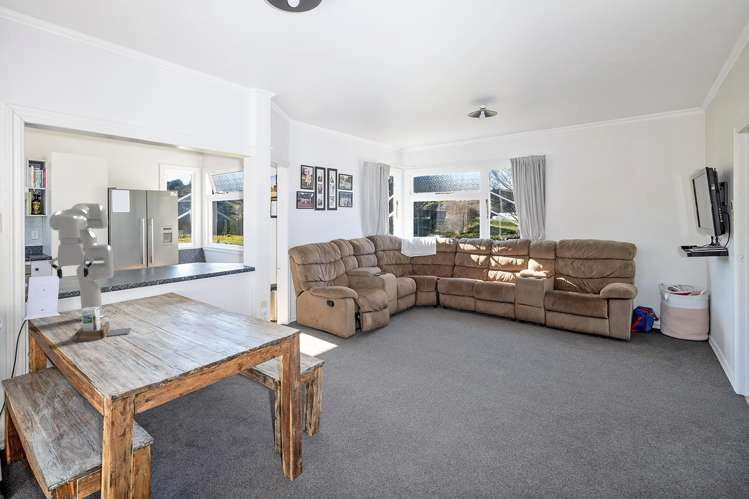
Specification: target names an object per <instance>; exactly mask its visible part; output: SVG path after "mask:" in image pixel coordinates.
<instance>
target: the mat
mask: <svg viewBox="0 0 749 499" xmlns="http://www.w3.org/2000/svg"><path fill="white" fill-rule="evenodd" d="M131 329H132V327H125V328H116V329H109V331H108V332H107V334H106V335H107V336H106V337H117V336H125V335H129V334H130V333H131Z"/></svg>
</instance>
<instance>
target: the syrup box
mask: <svg viewBox="0 0 749 499" xmlns="http://www.w3.org/2000/svg"><path fill="white" fill-rule="evenodd" d="M80 311H81V316H82V320H81V323H82V325H83V332H86V331H95V330H100V329H101V326H100V322H101V318H100V311H99V307H87V308H84V309H81V310H80Z"/></svg>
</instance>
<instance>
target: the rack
mask: <svg viewBox="0 0 749 499" xmlns="http://www.w3.org/2000/svg"><path fill="white" fill-rule="evenodd" d="M102 326H103V327H102V328H101V329H100V330H95V331H86V332H83V324H82V325H81V326H80V328H79V329H78V330H77V331H76V332H75V342H76V343H77V342H83V341H84V342H85V341H92V340H93V341H94V340H100V339H102V340H103V339H105V338H106V337H107V336H106V335H108V333H109V331H110V322H109V321H106V322H104V323H103V324H102Z"/></svg>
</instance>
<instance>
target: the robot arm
mask: <svg viewBox="0 0 749 499" xmlns="http://www.w3.org/2000/svg"><path fill="white" fill-rule="evenodd" d="M48 222H49V226H50V229H52V230H53V231H59V242H60V244H59V245H58V248H57V256H56V257H55V258H53V259H51V260H48V264H50V266H51V267H52V268H53V269H54V270H56V276H57V277H58V279H62V278H63V270H62V268H63V267H67V266H77V267H76V271H75V272H76V276H77V279H78V280H77V281H78V284H79V294H80V297H79V298H80V309H81V310H82V309H84V308H87V307H99V311H100V319H102V318H104V317H106V313H104V312H103V308H102V307H103V306H102V293H101V286H100V284H99V283H98V282H97V281H98V280H108V279H112V278H113V277H114V274H115V266H114V264H115V262H114V251H113V250H114V249H113V247H112V246H111V245H109V244H106V243H105V244H104V243H103V244H102V243H101V244H99V243H98V241H97V240H98V238H97V234H95V232H93V231H92V230H93V229H94V230H96V229H98V230H99V229H106V228H107V227H108V225H109V218H108V216H107V213H106V210H105V208H104V206H103V205H102V204H100V203H91V202H90V203H85V202H84V203H81V202H80V203H77V204H74V205H73V206H72V207H71V208H68V209H64V210H59V211H56V212H54V213H52V214H51V216H50V217H49V220H48ZM55 262H57V264H55ZM87 262H88V263H87ZM95 262H98V263H95ZM78 320H79V321H82V315H80V316H78Z"/></svg>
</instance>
